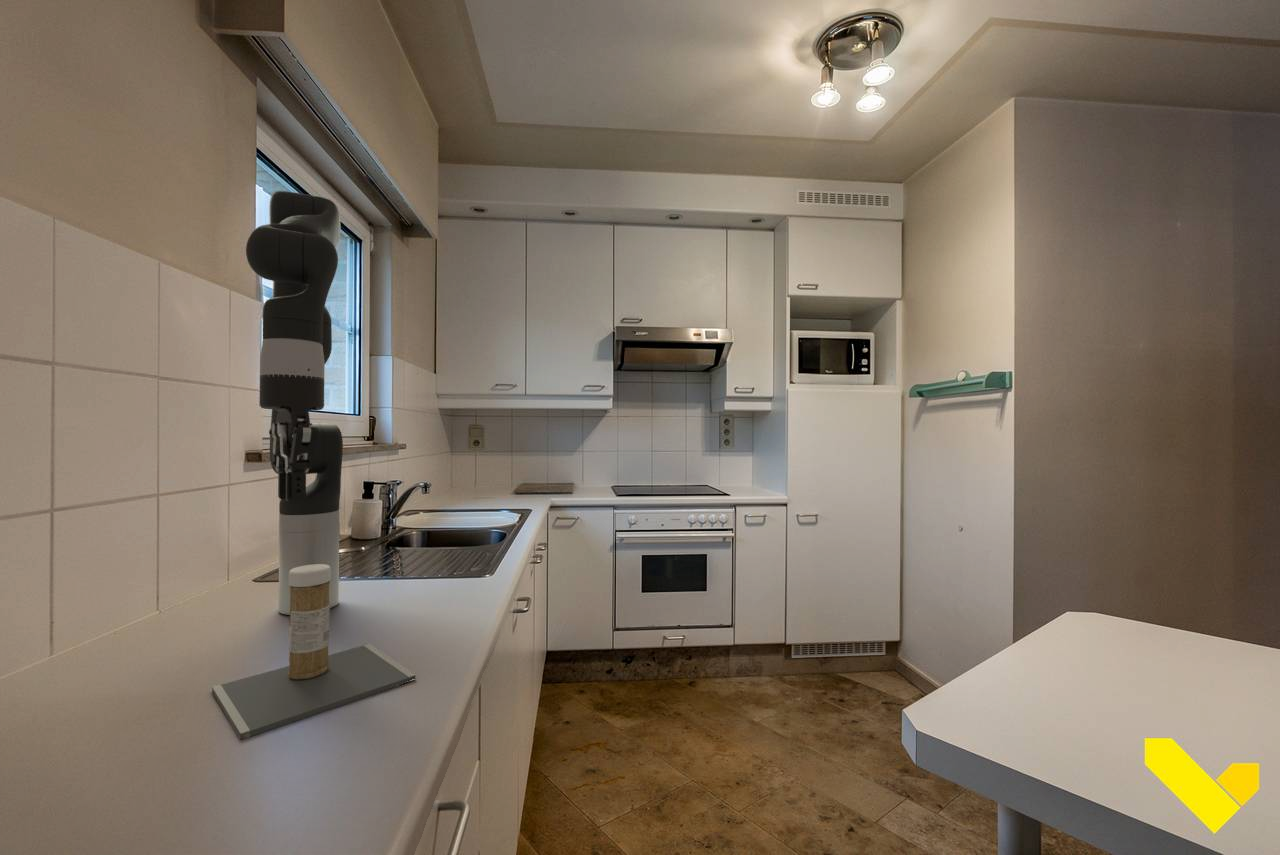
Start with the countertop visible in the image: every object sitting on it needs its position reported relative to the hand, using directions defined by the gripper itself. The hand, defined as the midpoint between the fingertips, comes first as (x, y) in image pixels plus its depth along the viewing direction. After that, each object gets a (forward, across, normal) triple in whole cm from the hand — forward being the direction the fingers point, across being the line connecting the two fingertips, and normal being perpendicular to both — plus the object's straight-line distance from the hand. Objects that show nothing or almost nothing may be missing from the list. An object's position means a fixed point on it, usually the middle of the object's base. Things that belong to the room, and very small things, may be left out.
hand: (291, 499), depth 74 cm
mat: (+22, -11, 0) cm, 25 cm away
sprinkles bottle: (+22, -8, 0) cm, 23 cm away
